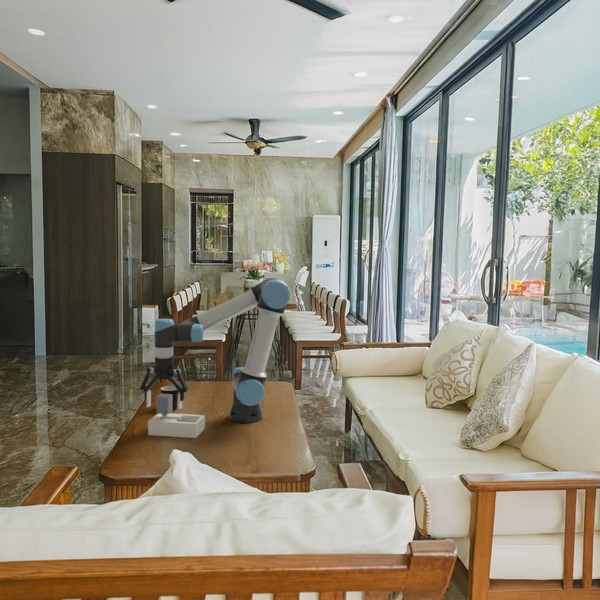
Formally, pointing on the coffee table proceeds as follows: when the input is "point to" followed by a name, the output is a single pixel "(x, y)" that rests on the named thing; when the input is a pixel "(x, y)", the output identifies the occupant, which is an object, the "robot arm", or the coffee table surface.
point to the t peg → (164, 404)
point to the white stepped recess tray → (177, 425)
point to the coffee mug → (173, 391)
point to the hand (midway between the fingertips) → (164, 407)
